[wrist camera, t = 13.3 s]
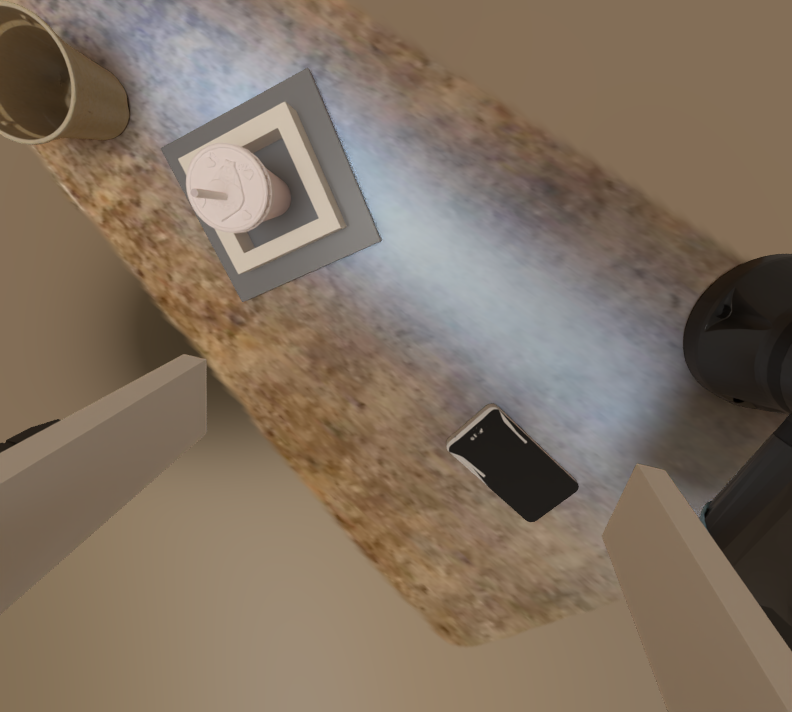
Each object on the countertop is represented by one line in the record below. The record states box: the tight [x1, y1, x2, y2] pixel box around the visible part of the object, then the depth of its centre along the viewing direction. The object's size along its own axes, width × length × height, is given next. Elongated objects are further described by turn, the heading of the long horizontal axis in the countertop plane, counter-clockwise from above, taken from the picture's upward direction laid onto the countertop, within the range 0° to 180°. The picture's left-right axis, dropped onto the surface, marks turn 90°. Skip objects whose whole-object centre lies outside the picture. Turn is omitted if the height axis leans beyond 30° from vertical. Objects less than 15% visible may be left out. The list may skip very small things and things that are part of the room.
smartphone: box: [446, 404, 579, 522], centre depth 48 cm, size 8×1×15 cm
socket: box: [161, 68, 381, 302], centre depth 39 cm, size 16×16×4 cm
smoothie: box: [186, 143, 291, 233], centre depth 33 cm, size 6×6×14 cm
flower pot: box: [0, 0, 129, 145], centre depth 36 cm, size 9×9×9 cm
